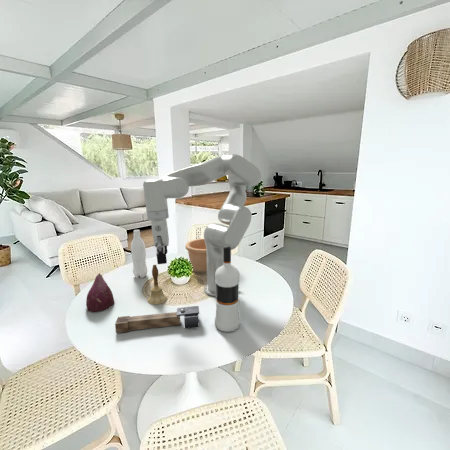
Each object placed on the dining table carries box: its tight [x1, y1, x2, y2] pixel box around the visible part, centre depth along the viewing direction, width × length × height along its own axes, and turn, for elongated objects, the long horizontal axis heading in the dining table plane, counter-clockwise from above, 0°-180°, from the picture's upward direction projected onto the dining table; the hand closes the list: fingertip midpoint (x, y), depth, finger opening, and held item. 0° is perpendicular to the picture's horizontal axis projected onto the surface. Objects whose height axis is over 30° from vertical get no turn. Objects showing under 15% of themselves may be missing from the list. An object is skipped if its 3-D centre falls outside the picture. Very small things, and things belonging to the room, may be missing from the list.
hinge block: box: [176, 305, 200, 330], centre depth 93 cm, size 8×7×6 cm
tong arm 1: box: [114, 315, 181, 333], centre depth 90 cm, size 22×2×4 cm, turn 100°
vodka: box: [214, 246, 241, 333], centre depth 89 cm, size 9×9×30 cm
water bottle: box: [130, 229, 148, 279], centre depth 130 cm, size 7×7×25 cm
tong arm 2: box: [116, 311, 177, 321], centre depth 92 cm, size 22×2×4 cm, turn 100°
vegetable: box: [85, 273, 115, 314], centre depth 105 cm, size 10×10×15 cm
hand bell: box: [147, 264, 168, 305], centre depth 108 cm, size 8×8×16 cm
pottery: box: [185, 238, 207, 275], centre depth 142 cm, size 22×22×14 cm
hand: (162, 258), depth 95 cm, fingers open, 9 cm apart
